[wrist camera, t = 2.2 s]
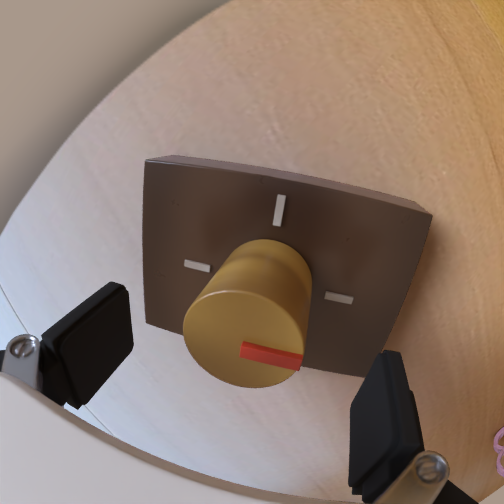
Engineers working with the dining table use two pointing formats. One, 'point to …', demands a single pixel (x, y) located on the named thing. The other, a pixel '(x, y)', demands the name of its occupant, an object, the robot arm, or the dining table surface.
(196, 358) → the lock knob
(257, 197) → the rotary dial base
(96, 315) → the robot arm
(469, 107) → the dining table surface
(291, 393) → the dining table surface
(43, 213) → the dining table surface
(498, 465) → the pink heart wand
